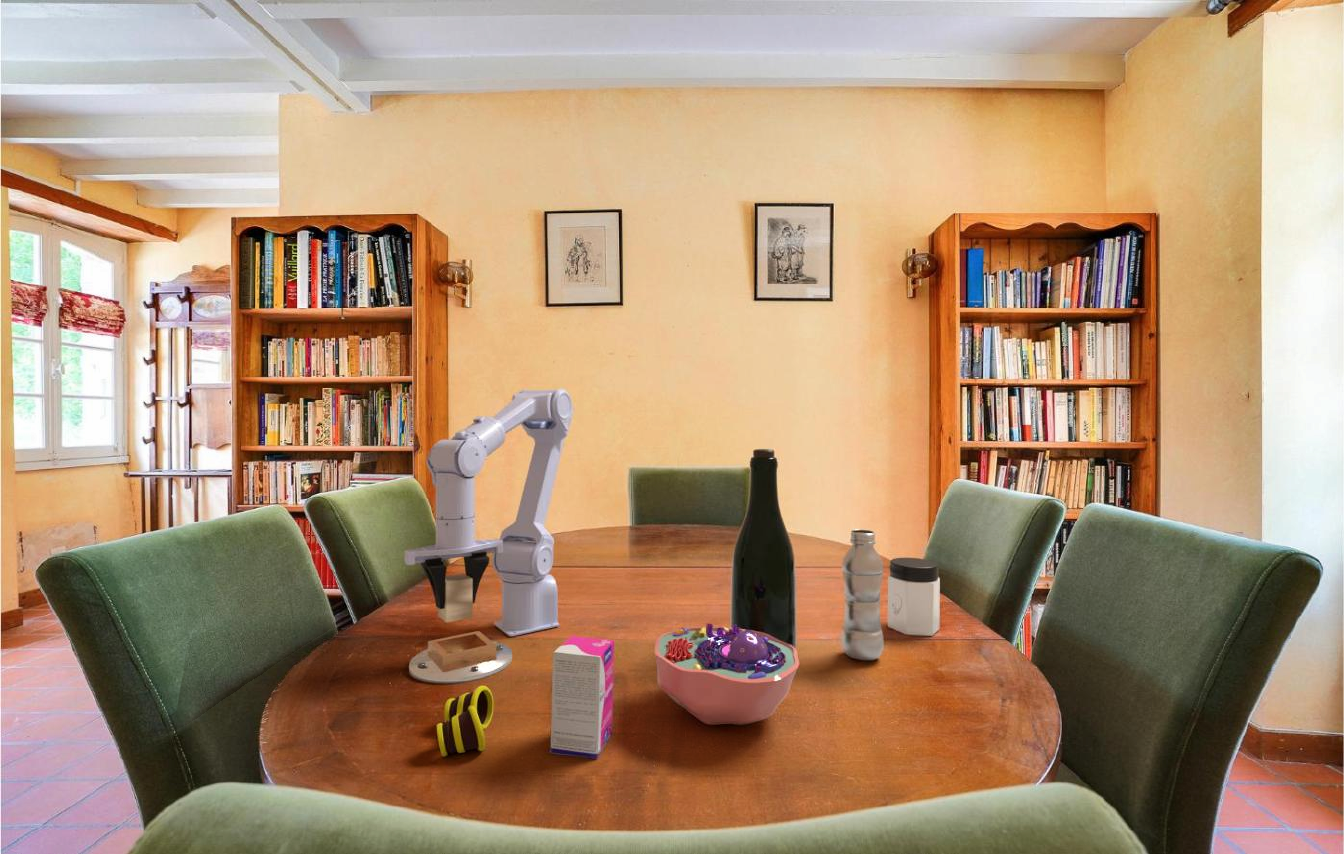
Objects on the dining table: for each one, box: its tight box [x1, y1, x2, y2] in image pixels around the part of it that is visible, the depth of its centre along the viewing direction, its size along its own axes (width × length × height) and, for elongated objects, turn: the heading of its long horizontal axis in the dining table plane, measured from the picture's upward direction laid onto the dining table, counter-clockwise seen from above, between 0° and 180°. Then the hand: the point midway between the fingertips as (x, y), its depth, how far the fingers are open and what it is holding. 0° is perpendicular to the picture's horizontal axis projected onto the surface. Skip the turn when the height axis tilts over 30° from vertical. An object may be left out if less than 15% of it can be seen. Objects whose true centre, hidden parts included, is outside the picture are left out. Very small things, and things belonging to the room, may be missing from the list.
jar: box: [887, 557, 941, 637], centre depth 110 cm, size 9×8×12 cm
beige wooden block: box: [437, 573, 474, 623], centre depth 94 cm, size 4×4×6 cm
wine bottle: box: [729, 448, 797, 650], centre depth 97 cm, size 10×10×33 cm
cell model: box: [654, 622, 800, 726], centre depth 78 cm, size 17×20×11 cm
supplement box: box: [549, 635, 615, 759], centre depth 70 cm, size 6×6×12 cm
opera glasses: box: [436, 685, 494, 758], centre depth 72 cm, size 10×5×5 cm, turn 10°
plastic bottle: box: [840, 529, 885, 661], centre depth 96 cm, size 6×7×20 cm
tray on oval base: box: [408, 630, 513, 685], centre depth 94 cm, size 15×15×3 cm
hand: (455, 604), depth 94 cm, fingers closed on beige wooden block, 4 cm apart
